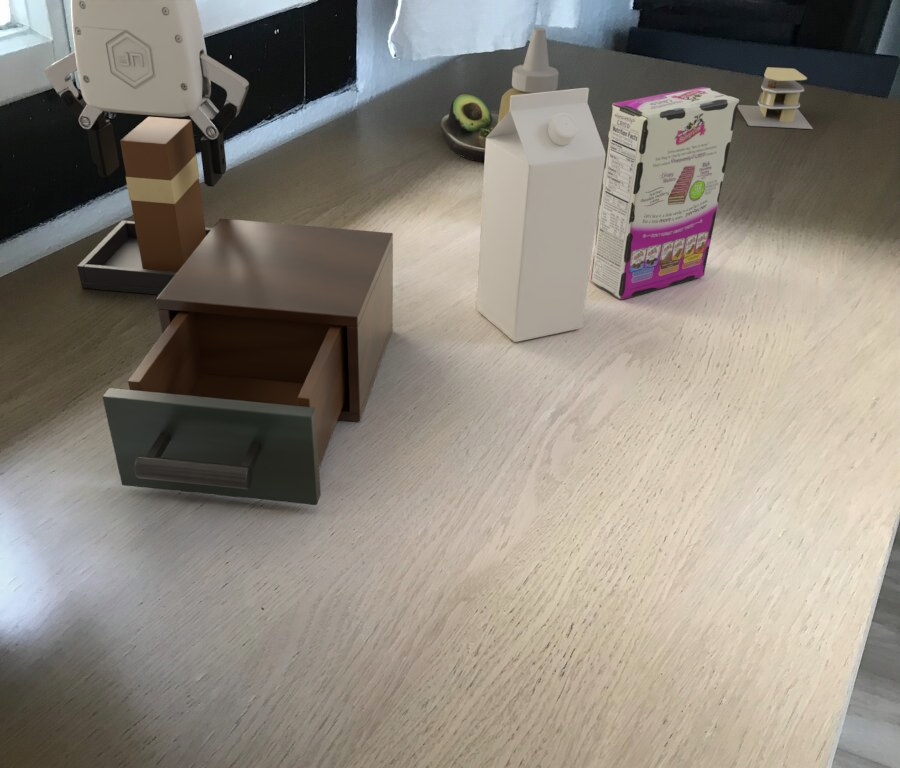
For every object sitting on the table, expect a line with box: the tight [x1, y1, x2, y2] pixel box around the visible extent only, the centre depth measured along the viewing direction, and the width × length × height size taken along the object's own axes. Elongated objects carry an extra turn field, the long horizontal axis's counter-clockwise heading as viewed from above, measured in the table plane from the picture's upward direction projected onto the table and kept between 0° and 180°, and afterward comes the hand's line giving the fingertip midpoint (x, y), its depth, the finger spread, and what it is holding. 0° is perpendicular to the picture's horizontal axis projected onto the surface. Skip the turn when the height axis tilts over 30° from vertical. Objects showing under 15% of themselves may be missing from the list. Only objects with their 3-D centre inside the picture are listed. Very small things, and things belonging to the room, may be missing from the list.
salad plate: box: [440, 93, 500, 163], centre depth 125 cm, size 19×18×5 cm
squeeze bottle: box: [498, 27, 560, 123], centre depth 102 cm, size 8×8×18 cm
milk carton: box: [475, 87, 607, 343], centre depth 83 cm, size 7×7×19 cm
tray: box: [76, 220, 213, 296], centre depth 93 cm, size 14×11×2 cm
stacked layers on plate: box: [737, 66, 814, 130], centre depth 138 cm, size 10×9×6 cm
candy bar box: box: [590, 86, 740, 300], centre depth 91 cm, size 11×5×16 cm, turn 123°
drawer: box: [102, 311, 349, 506], centre depth 67 cm, size 19×13×7 cm
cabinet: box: [156, 218, 394, 423], centre depth 78 cm, size 16×15×9 cm
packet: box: [119, 116, 206, 272], centre depth 90 cm, size 4×7×12 cm, turn 173°
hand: (161, 176), depth 88 cm, fingers open, 9 cm apart
